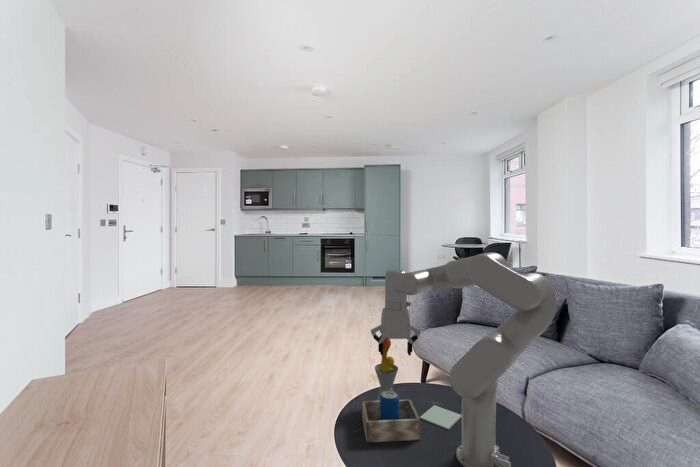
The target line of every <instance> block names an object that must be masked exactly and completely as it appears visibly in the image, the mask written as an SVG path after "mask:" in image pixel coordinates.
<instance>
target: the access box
mask: <svg viewBox="0 0 700 467" xmlns="http://www.w3.org/2000/svg"><path fill="white" fill-rule="evenodd" d="M361 417H362V418H361V420H362V425H363V430H364V435H365V436H364V437H365V440H366V443H382V442H399V441H401V442H402V441H420V440H421V419H420V416H419V414H418V412H417V409H416V408H415V406H414V404H413V402H412V400H411V399H406V398H405V399H399V420H380V401H377V400H362V401H361Z"/></svg>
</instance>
